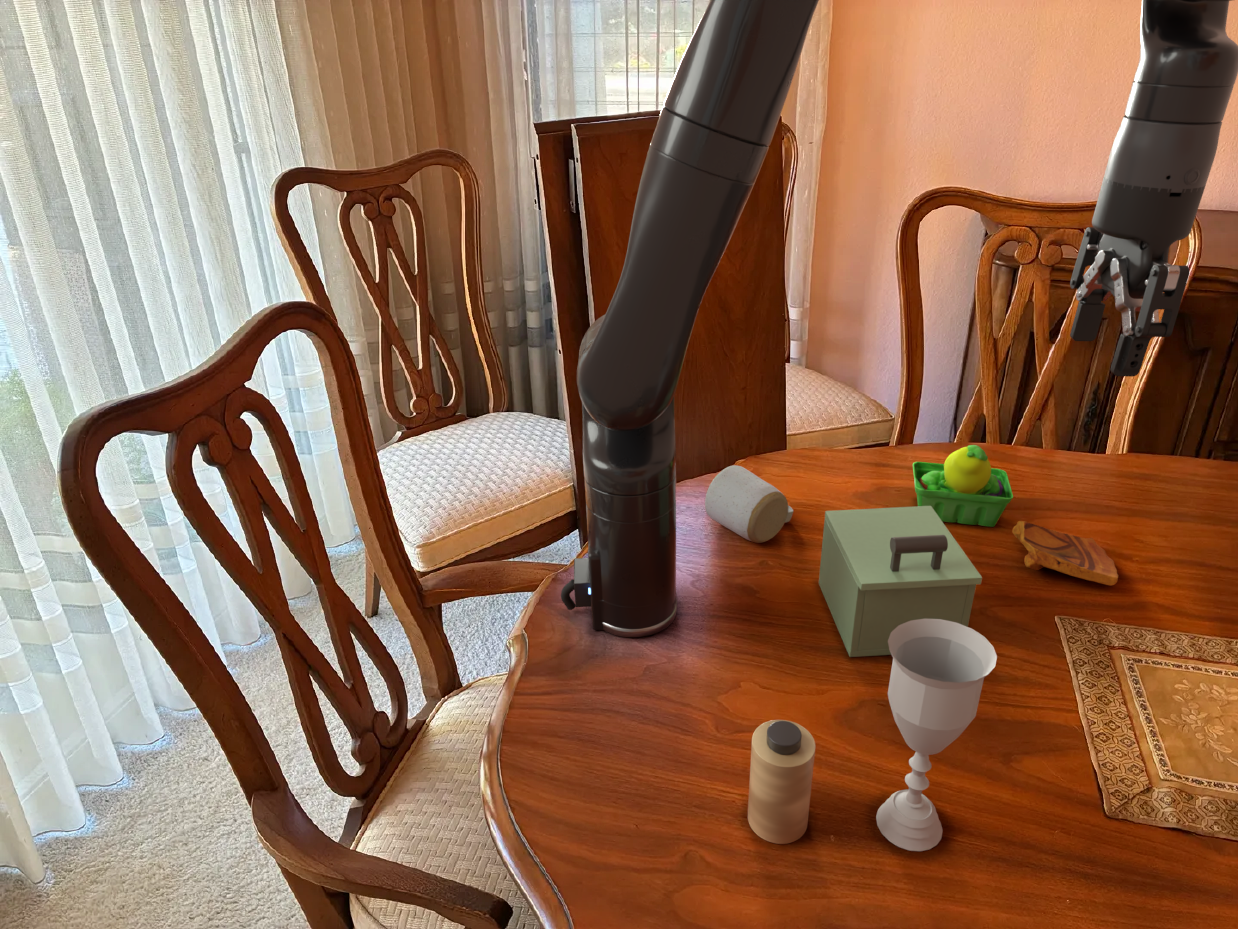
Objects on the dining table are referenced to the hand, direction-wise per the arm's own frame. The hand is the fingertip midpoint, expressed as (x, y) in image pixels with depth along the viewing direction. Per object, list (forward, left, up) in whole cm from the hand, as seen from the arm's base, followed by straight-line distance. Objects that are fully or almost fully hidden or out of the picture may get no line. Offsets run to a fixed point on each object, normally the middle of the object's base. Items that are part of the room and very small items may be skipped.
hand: (1101, 356), depth 80 cm
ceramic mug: (-28, +18, -29) cm, 44 cm away
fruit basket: (-2, +18, -29) cm, 34 cm away
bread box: (-17, -1, -28) cm, 33 cm away
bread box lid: (-17, -1, -20) cm, 26 cm away
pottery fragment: (+6, +6, -29) cm, 30 cm away
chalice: (-24, -27, -29) cm, 46 cm away
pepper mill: (-34, -26, -28) cm, 51 cm away
